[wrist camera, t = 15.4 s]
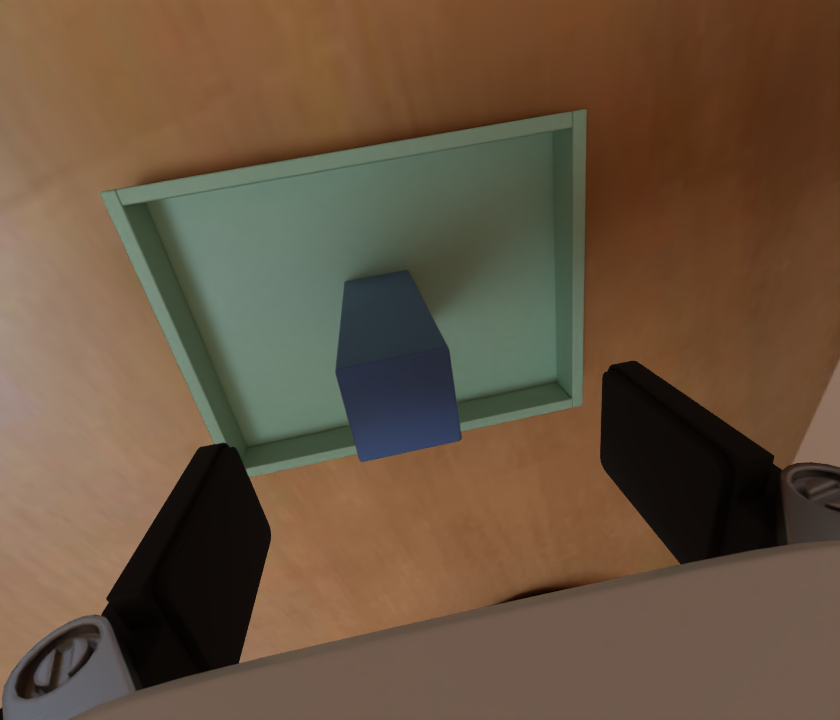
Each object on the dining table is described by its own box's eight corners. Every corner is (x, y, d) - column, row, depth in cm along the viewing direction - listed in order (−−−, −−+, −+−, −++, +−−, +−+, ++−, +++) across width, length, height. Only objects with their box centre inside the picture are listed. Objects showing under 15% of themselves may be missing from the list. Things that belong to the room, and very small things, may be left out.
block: (408, 269, 20) (449, 347, 11) (418, 329, 22) (462, 441, 13) (343, 281, 20) (333, 370, 11) (358, 341, 22) (359, 464, 13)
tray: (560, 115, 19) (587, 108, 17) (562, 384, 25) (583, 405, 23) (130, 189, 18) (98, 192, 16) (242, 452, 24) (231, 481, 22)
